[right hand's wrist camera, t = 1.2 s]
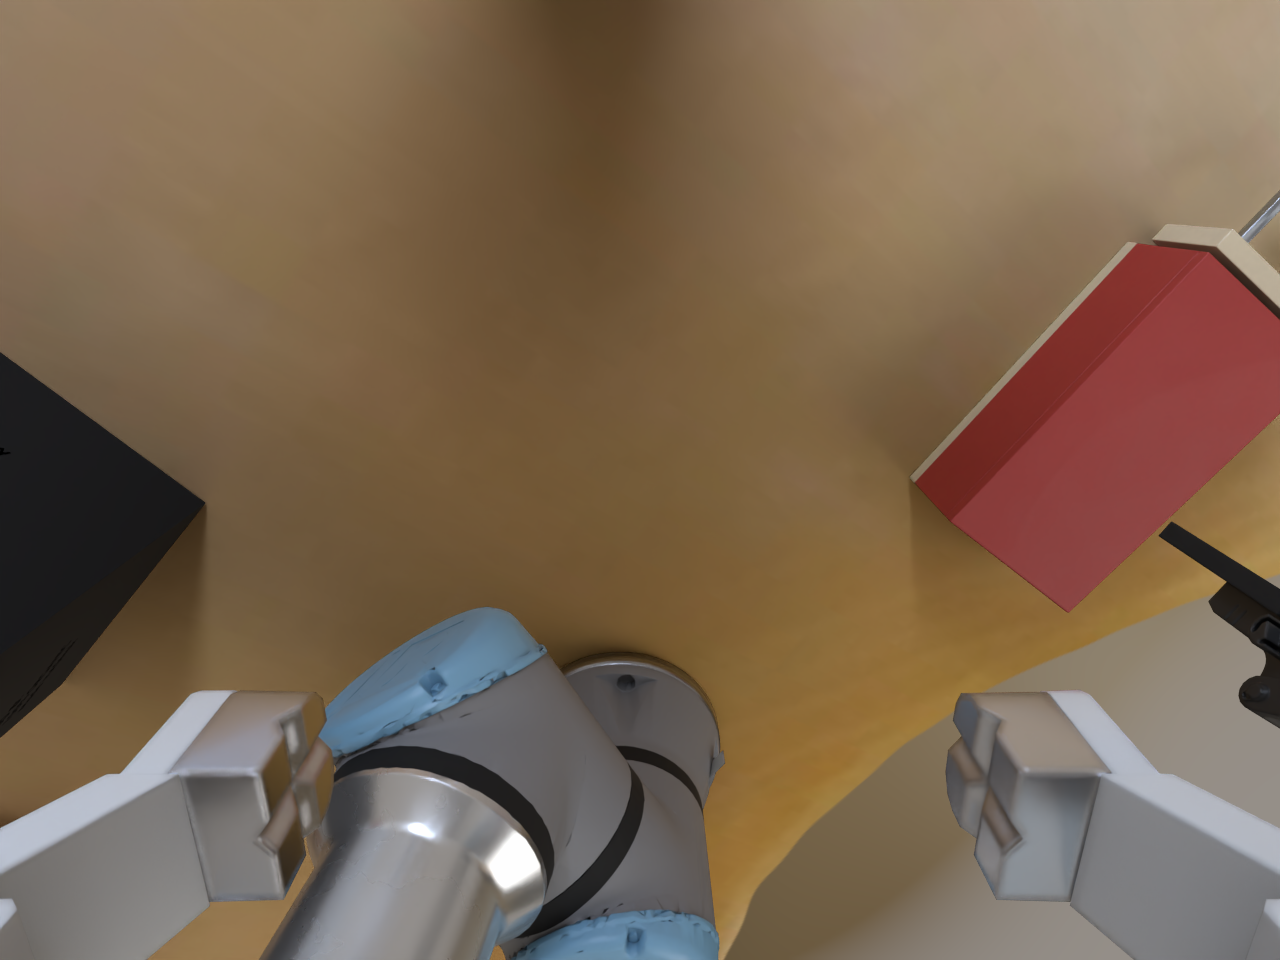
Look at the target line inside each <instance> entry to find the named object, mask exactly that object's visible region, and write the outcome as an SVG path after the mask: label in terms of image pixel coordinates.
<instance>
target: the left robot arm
mask: <svg viewBox="0 0 1280 960" xmlns="http://www.w3.org/2000/svg"><path fill="white" fill-rule="evenodd" d="M1159 537H1161V538H1162V539H1164V540H1165V541H1167V542H1168V543H1170V544H1171V545H1173V546H1174V547H1176V548H1177V549H1179V550H1180V551H1182V552H1183V553H1185V554H1186V555H1188V556H1189V557H1191V558H1192V559H1194V560H1195V561H1197V562H1198V563H1200V564H1201V565H1203V566H1204V567H1206V568H1207V569H1209V570H1210V571H1212V572H1213V573H1215V574H1216V575H1218V576H1219V577H1221V578H1222V579H1224V580H1225V581H1227V582H1226V583H1225V584H1224V585H1223V587H1222V588H1221V589H1220V590H1219V591H1218V592H1217V593H1216V594H1215V595H1214V596H1213V597H1212V598H1211V599H1210V600H1209V604H1210V606H1211V608H1212V610H1213V612H1214V613H1216V614H1217V615H1218V616H1220V617H1221V618H1222V619H1224V620H1225V621H1226V622H1228V623H1229V624H1231V625H1232V626H1233V627H1235V628H1236V629H1237V630H1239V631H1240V632H1241V633H1243V634H1244V635H1245V636H1247V637H1248V638H1249V639H1250V641H1251V642H1252V643H1253V644H1254V645H1256V646H1257V647H1259V648H1260V649H1262V650H1263V651H1264V652H1265V655H1266V664H1265V667H1264V670H1263V672H1262V674H1261V676H1255V677H1252V678H1249V679H1248V680H1247V681H1245V682H1244V683H1243V685H1242V686H1241V688H1240V690H1239V699H1240V702H1241V703H1242V704H1243V706H1244V707H1246V708H1247V709H1249V710H1251V711H1252V712H1254V713H1255V714H1257V715H1259V716H1260V717H1262V718H1264V719H1265V720H1267V721H1268V722H1270V723H1272V724H1273V725H1275V726H1277V727H1278V728H1280V589H1279V588H1277V587H1276V586H1274V585H1273V584H1271V583H1269V582H1268V581H1266V580H1265V579H1263V578H1261V577H1260V576H1258V575H1257V574H1255V573H1253V572H1252V571H1250V570H1249V569H1247V568H1245V567H1244V566H1242V565H1241V564H1239V563H1237V562H1236V561H1234V560H1233V559H1231V558H1229V557H1228V556H1226V555H1225V554H1223V553H1221V552H1220V551H1218V550H1217V549H1215V548H1213V547H1212V546H1210V545H1209V544H1207V543H1205V542H1204V541H1202V540H1201V539H1199V538H1197V537H1196V536H1194V535H1193V534H1191V533H1189V532H1188V531H1186V530H1185V529H1183V528H1181V527H1180V526H1178V525H1177V524H1175V523H1173V522H1172V521H1171V522H1170V524H1169V525H1168V526H1167V527H1166V528H1165V529H1164V530H1163V531H1162V532H1161V534H1160V535H1159ZM325 713H326V718H327V722H326V723H325V725H324V727H323V729H322V730H321V732H320V734H319V737H320V738H321V739H322V740H323V741H324V742H325V743H326V744H327V745H328V746H329V747H330V749H331V750H332V755H333V762H334V765H335V766H336V772H335V773H334V786H333V791H332V795H331V800H330V804H329V809H328V811H327V813H326V815H325V817H324V819H323V821H322V824H321V826H320V827H319V828H317V829H316V830H315V831H313V832H312V833H310V834H309V835H308V836H307V846H308V851H309V854H310V857H311V860H312V863H313V865H314V870H313V871H312V873H311V874H310V876H309V878H308V879H307V881H306V883H305V884H304V886H303V888H302V889H301V891H300V893H299V894H298V896H297V898H296V899H295V901H294V902H293V904H292V906H291V907H290V909H289V911H288V912H287V914H286V916H285V917H284V919H283V921H282V922H281V924H280V926H279V927H278V929H277V930H276V932H275V934H274V935H273V937H272V939H271V940H270V942H269V944H268V945H267V947H266V949H265V950H264V952H263V954H262V955H261V957H260V958H259V960H490V957H491V954H492V951H493V948H494V947H495V946H497V945H499V946H500V947H501V949H502V950H503V953H504V955H505V958H506V960H718V951H719V937H718V933H717V931H716V928H715V919H714V909H713V900H712V891H711V882H710V873H709V864H708V855H707V846H706V837H705V828H704V818H703V808H704V805H705V802H706V800H707V797H708V793H709V788H710V786H711V784H712V782H713V779H714V777H715V773H716V772H717V771H718V770H719V769H720V768H721V767H722V766H723V765H724V764H725V760H724V753H723V751H722V752H721V753H720V737H719V730H718V724H717V718H716V715H715V711H714V709H713V706H712V704H711V702H710V700H709V698H708V697H707V695H706V694H705V692H704V691H703V689H702V688H701V687H700V686H699V685H698V684H697V683H696V682H695V681H694V680H693V679H692V678H691V677H690V676H689V675H687V674H686V673H685V672H683V671H682V670H680V669H679V668H677V667H676V666H674V665H672V664H670V663H668V662H666V661H663V660H661V659H658V658H655V657H651V656H648V655H643V654H638V653H629V652H611V653H603V654H597V655H592V656H588V657H585V658H582V659H579V660H577V661H575V662H572V663H570V664H568V665H567V666H565V667H563V668H561V669H559V668H558V667H557V665H556V664H555V663H554V661H553V660H552V658H551V657H550V656H549V654H548V653H547V649H546V647H545V646H544V645H542V644H538V643H537V642H536V641H535V640H534V638H533V637H532V636H531V635H530V634H529V633H528V631H527V630H526V629H525V628H524V627H523V626H522V624H521V623H520V622H519V621H518V620H517V619H516V618H515V617H514V616H513V615H512V614H511V613H509V612H508V611H505V610H502V609H498V608H492V607H481V608H476V609H472V610H469V611H466V612H463V613H460V614H458V615H455V616H453V617H451V618H448V619H446V620H444V621H442V622H440V623H438V624H436V625H434V626H432V627H431V628H429V629H427V630H425V631H423V632H422V633H420V634H418V635H417V636H415V637H413V638H412V639H410V640H409V641H407V642H405V643H404V644H402V645H401V646H399V647H398V648H396V649H395V650H393V651H392V652H390V653H389V654H388V655H386V656H385V657H383V658H382V659H381V660H379V661H378V662H377V663H375V664H374V665H372V666H371V667H370V668H369V669H367V670H366V671H365V672H364V673H362V674H361V675H360V676H359V677H357V678H356V679H355V680H354V681H353V682H352V683H350V684H349V685H348V686H347V687H346V688H345V689H344V690H343V691H342V692H341V693H340V694H339V695H337V696H336V698H335V699H334V700H333V701H332V702H331V703H330V704H329V705H328V706H327V707H326V708H325Z"/></svg>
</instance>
